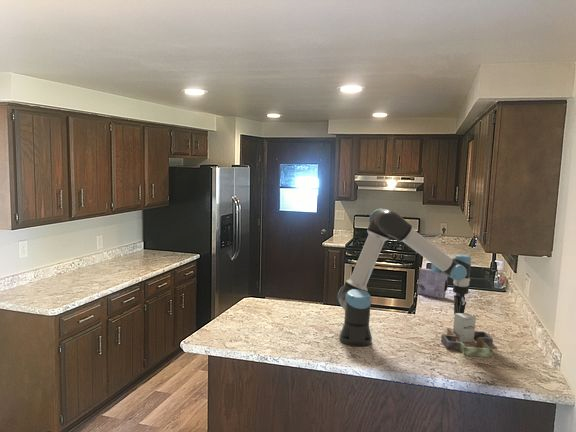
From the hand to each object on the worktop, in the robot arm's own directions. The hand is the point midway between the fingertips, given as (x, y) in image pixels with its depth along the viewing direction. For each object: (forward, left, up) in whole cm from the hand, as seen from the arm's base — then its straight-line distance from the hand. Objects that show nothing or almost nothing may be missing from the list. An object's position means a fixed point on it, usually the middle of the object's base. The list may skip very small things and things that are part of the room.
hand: (457, 330), depth 247 cm
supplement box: (0, -10, -2) cm, 10 cm away
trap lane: (0, -18, -2) cm, 18 cm away
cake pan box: (+6, +77, -2) cm, 77 cm away
